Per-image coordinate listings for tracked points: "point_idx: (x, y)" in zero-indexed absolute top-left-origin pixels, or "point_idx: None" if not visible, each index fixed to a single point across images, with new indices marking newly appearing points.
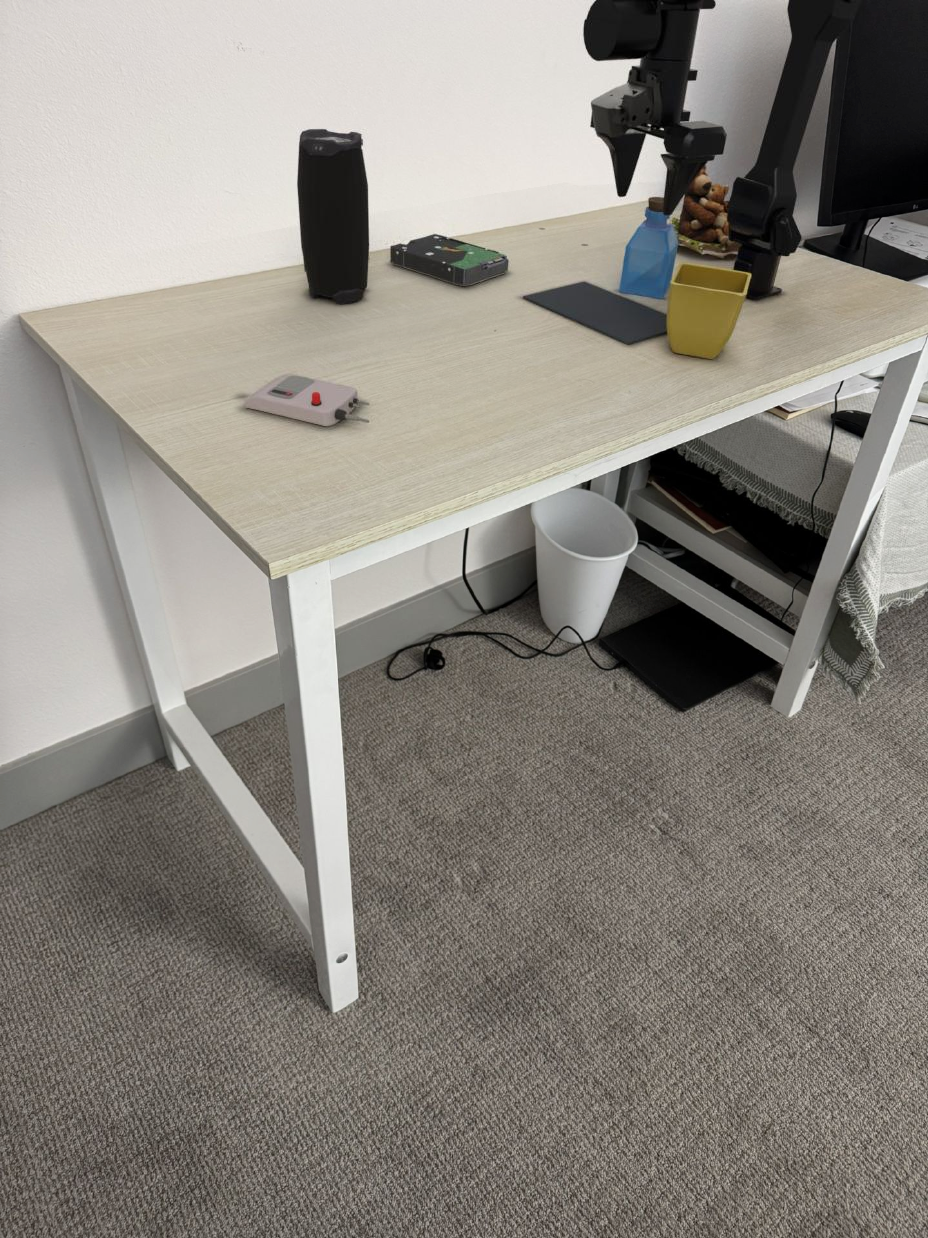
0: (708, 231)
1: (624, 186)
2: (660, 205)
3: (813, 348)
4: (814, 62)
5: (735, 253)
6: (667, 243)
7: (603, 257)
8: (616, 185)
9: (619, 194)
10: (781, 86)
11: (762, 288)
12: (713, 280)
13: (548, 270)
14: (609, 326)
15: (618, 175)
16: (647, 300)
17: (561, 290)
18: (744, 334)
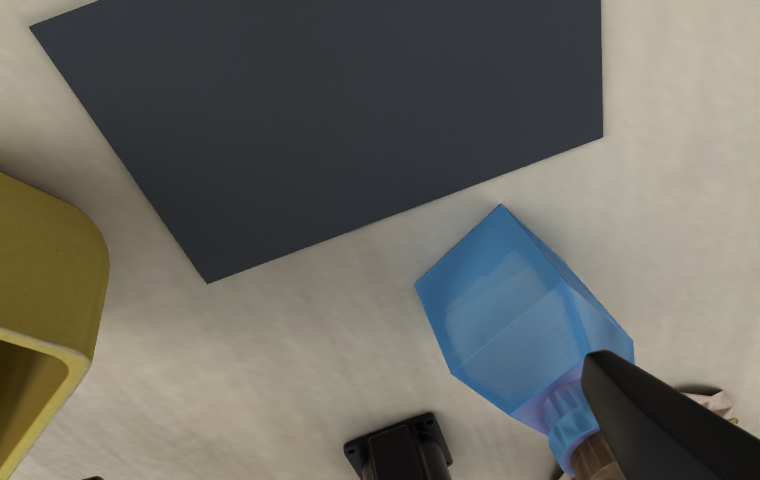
0: None
1: (616, 422)
2: (586, 466)
3: (45, 460)
4: None
5: (560, 478)
6: (477, 388)
7: (715, 260)
8: (658, 386)
9: (591, 360)
10: None
11: (362, 471)
12: (31, 407)
13: (741, 73)
14: (205, 31)
15: (696, 454)
16: (415, 249)
17: (574, 22)
18: (139, 372)
